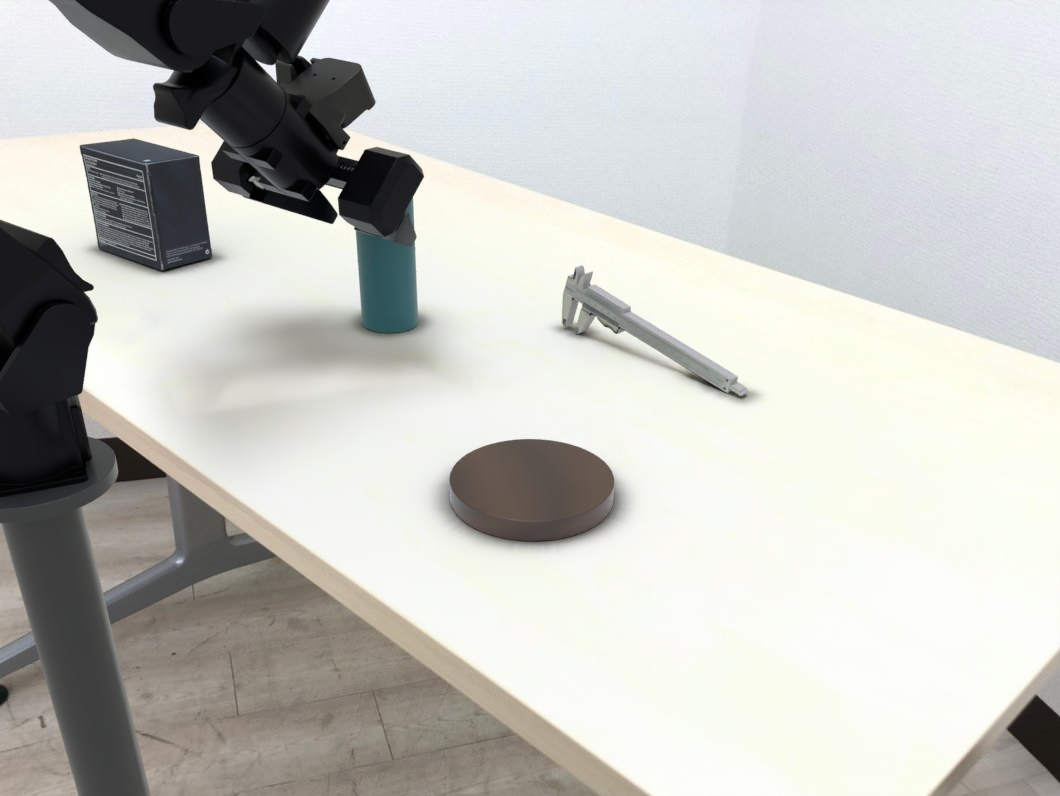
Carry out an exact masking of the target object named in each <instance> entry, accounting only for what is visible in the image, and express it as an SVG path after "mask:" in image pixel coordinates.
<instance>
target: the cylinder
mask: <svg viewBox="0 0 1060 796" xmlns="http://www.w3.org/2000/svg"><path fill="white" fill-rule="evenodd" d="M414 207H415V206H414V197H413V198H412V200H411V202H410V204H409V205H408V207H407V209H408V212H409V215H410V218H411V221H412V224H413V227H414V228H415V213H414V212H415V211H414V209H415V208H414ZM355 240H356V241H355V242H356V255H357V267H358V268H357V270H358V271H357V272H358V283H359V284H358V285H359V299H360V312H361V324H362V326H363V328H365V329H367V330H369V331H372V332H375V333H383V334H396V333H403V332H407V331H410V330H412V329H414V328H416V327H417V326H418V325H419V309H418V308H419V307H418V305H419V304H418V286H417V285H418V284H417V283H418V281H417V258H416V257H417V255H416V241H415V242H414V244H413V246H412V247H407V246H404V245H401V244H398V243H394V242H391V241H388V240H385V239H382V238H378V237H375V236H372V235H369V234H365V233H362V232H359V231H356V230H355Z"/></svg>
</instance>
